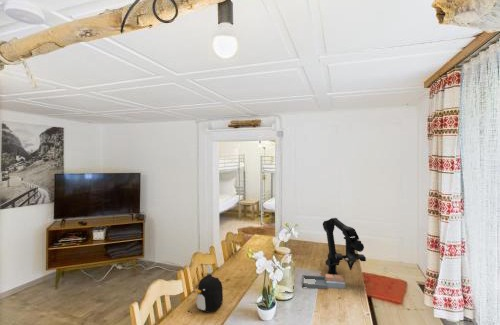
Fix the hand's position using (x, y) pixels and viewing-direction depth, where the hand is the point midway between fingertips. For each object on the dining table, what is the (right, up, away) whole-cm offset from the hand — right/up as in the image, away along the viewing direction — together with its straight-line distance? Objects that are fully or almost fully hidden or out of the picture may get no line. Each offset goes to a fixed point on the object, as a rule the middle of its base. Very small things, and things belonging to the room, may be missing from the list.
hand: (350, 269), depth 174 cm
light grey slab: (-10, -11, +2) cm, 15 cm away
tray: (-24, -12, +4) cm, 27 cm away
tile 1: (-14, -8, +2) cm, 16 cm away
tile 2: (-8, -8, +1) cm, 11 cm away
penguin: (-92, -13, -21) cm, 96 cm away
